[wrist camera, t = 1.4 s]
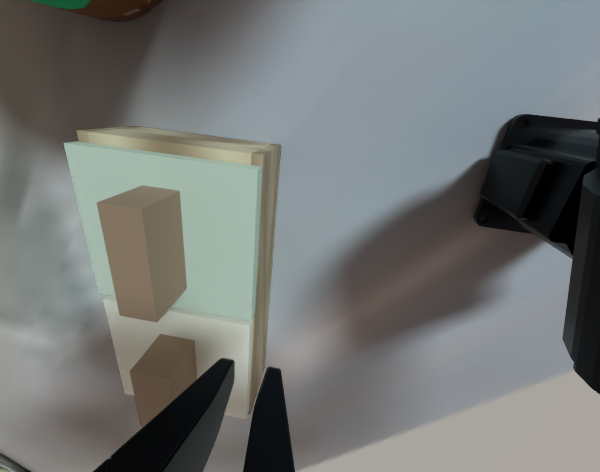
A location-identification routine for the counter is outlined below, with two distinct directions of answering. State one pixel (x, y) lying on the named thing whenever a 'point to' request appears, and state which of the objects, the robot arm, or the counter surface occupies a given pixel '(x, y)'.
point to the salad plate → (10, 465)
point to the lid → (178, 355)
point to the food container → (105, 8)
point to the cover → (169, 229)
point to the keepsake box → (227, 152)
